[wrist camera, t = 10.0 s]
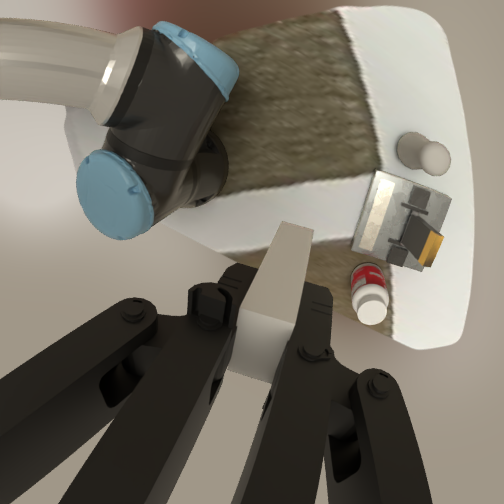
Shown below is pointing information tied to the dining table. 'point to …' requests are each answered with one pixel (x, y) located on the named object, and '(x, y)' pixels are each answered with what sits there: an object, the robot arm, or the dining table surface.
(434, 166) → the salt shaker
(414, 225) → the paddle
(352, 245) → the panel
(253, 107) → the dining table surface
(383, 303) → the pill bottle
